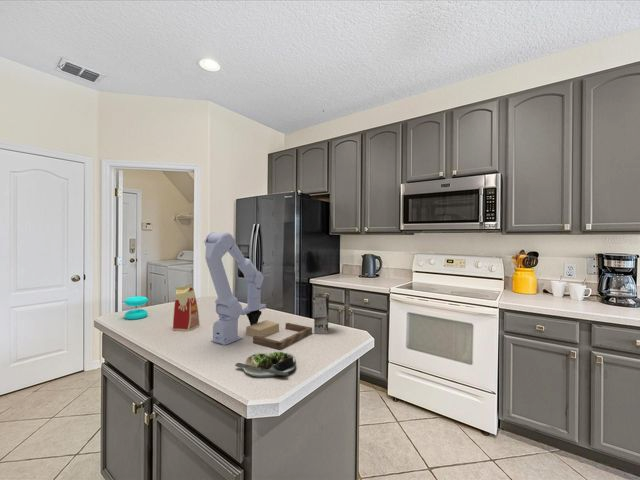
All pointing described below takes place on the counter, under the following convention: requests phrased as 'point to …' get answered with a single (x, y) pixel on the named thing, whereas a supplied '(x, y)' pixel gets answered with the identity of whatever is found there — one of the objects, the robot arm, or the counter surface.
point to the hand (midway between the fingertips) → (253, 327)
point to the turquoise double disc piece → (136, 312)
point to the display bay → (279, 345)
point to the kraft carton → (262, 329)
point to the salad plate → (269, 364)
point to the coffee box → (321, 313)
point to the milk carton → (185, 309)
